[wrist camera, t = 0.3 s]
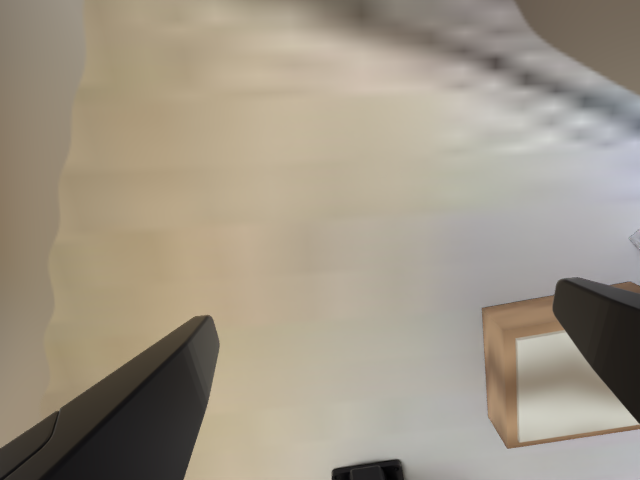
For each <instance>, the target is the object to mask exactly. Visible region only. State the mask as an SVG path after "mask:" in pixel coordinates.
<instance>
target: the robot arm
mask: <svg viewBox="0 0 640 480" xmlns="http://www.w3.org/2000/svg"><path fill="white" fill-rule="evenodd" d="M552 310H553V313H554V316H555V317H556V319H557V320H558V322H559V323H560V324H561V326H562V327H563V329H564V330H565V331H566V333H567V334H568V336H569V337H570V338H571V340H572V341H573V343H574V344H575V346H576V347H577V348H578V350H579V351H580V353H581V354H582V355H583V357H584V358H585V360H586V361H587V362H588V364H589V365H590V366H591V368H592V369H593V370H594V371H595V373H596V374H597V375H598V376H599V378H600V379H601V380H602V381H603V382H604V383H605V385H606V386H607V387H608V388H609V389H610V390H611V392H612V393H613V394H614V395H615V396H616V397H617V399H618V400H619V401H620V402H621V403H622V404H623V406H624V407H625V408H626V409H627V410H628V411H629V413H630V414H631V415H632V416H633V417H634V418H635V420H636V421H637V422H638V423H639V424H640V294H639V293H635V292H632V291H628V290H624V289H620V288H617V287H613V286H609V285H605V284H601V283H598V282H594V281H590V280H586V279H583V278H578V277H574V278H564V279H560V280H559V281H558V282H557V284H556V289H555V294H554V299H553V304H552ZM219 346H220V345H219V338H218V335H217V331H216V328H215V324H214V321H213V318H212V317H211V316H210V315H203V316H195V317H193V318H192V319H190V320H189V321H187V322H186V323H184V324H183V325H181V326H180V327H179V328H177V329H176V330H174V331H173V332H171V333H170V334H168V335H167V336H165V337H164V338H162V339H161V340H160V341H158V342H157V343H155V344H154V345H152V346H151V347H149V348H148V349H146V350H145V351H143V352H142V353H140V354H139V355H138V356H136V357H135V358H133V359H132V360H130V361H129V362H127V363H126V364H124V365H123V366H121V367H120V368H118V369H117V370H116V371H114V372H113V373H111V374H110V375H108V376H107V377H105V378H104V379H102V380H101V381H99V382H98V383H97V384H95V385H94V386H92V387H91V388H89V389H88V390H86V391H85V392H83V393H82V394H80V395H79V396H77V397H76V398H75V399H73V400H72V401H70V402H69V403H67V404H66V405H64V406H63V407H61V408H60V410H59V411H55V412H54V413H52V414H51V415H49V416H48V417H47V418H45V419H44V420H42V421H41V422H39V423H38V424H36V425H35V426H33V427H32V428H30V429H29V430H27V431H26V432H24V433H23V434H21V435H20V436H18V437H17V438H15V439H14V440H12V441H11V442H9V443H8V444H6V445H5V446H3V447H2V448H0V480H183V479H184V476H185V473H186V470H187V467H188V464H189V461H190V458H191V455H192V452H193V448H194V445H195V442H196V439H197V436H198V433H199V430H200V427H201V424H202V420H203V417H204V414H205V411H206V408H207V404H208V400H209V396H210V391H211V386H212V382H213V377H214V372H215V367H216V362H217V357H218V353H219ZM332 480H404V478H403V473H402V467H401V464H400V462H399V461H389V462H382V463H375V464H369V465H362V466H355V467H349V468H342V469H336V470H333V471H332Z"/></svg>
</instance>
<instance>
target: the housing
mask: <svg viewBox="0 0 640 480" xmlns="http://www.w3.org/2000/svg"><path fill="white" fill-rule="evenodd" d="M629 239H630V240H631V242H632V243H633V244H634V245H635V246H636V247H637V248H638V249H639V250H640V229H639V230H638V231H636V232H635V233H634V234H633V235H632V236H631V237H629Z"/></svg>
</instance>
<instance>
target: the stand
mask: <svg viewBox="0 0 640 480" xmlns="http://www.w3.org/2000/svg"><path fill="white" fill-rule="evenodd" d="M609 286H613V287H617V288H620V289H624V290H628V291H632V292H635V293H639V294H640V286H639V285H636V284H634V283H632V282H625V283H620V284H614V285H609ZM553 299H554V295H553V296H547V297H541V298H536V299H530V300H525V301H519V302H513V303H508V304H502V305H497V306H491V307H485V308H482V319H483V336H484V353H485V371H486V388H487V405H488V417H489V419H490V421H491V422H492V424H493V426H494V427H495V429H496V431H497V432H498V434H499V436H500V437H501V439H502V441H503V442H504V444H505V446H506V447H507V449H509V448H516V447H523V446H529V445H536V444H543V443H549V442H556V441H563V440H569V439H576V438H583V437H590V436H596V435H603V434H610V433H616V432H623V431H630V430H636V429H640V424H639V423H638V422H637V421H636V420H635V418H634V417H633V416H632V415H631V414H630V413H629V411H628V410H627V409H626V408H625V407H624V406H623V404H622V403H621V402H620V401H619V400H618V399H617V397H616V396H615V395H614V394H613V393H612V392H611V390H610V389H609V388H608V387H607V386H606V385H605V383H604V382H603V381H602V380H601V379H600V378H599V376H598V375H597V374H596V373H595V371H594V370H593V369H592V368H591V366H590V365H589V364H588V362H587V361H586V360H585V358H584V357H583V355H582V354H581V353H580V351H579V350H578V348H577V347H576V346H575V344H574V343H573V341H572V340H571V338H570V337H569V336H568V334H567V333H566V331H565V330H564V329H563V327H562V326H561V324H560V323H559V322H558V320H557V319H556V317H555V316H554V313H553V310H552V304H553Z"/></svg>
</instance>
